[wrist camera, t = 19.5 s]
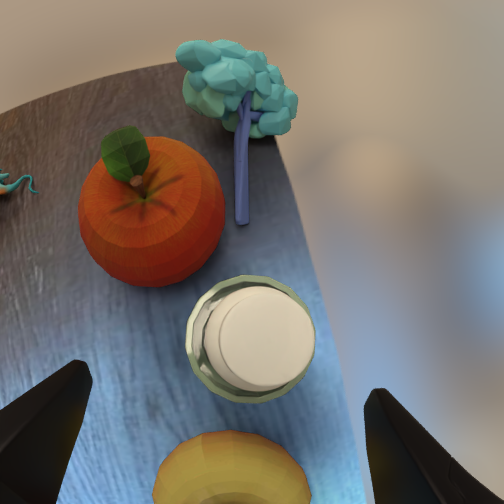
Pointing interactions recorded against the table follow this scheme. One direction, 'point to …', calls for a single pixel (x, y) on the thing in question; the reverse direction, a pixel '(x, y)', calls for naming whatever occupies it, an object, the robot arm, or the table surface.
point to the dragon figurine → (9, 188)
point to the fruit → (150, 209)
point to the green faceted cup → (197, 339)
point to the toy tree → (237, 99)
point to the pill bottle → (259, 338)
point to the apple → (230, 472)
